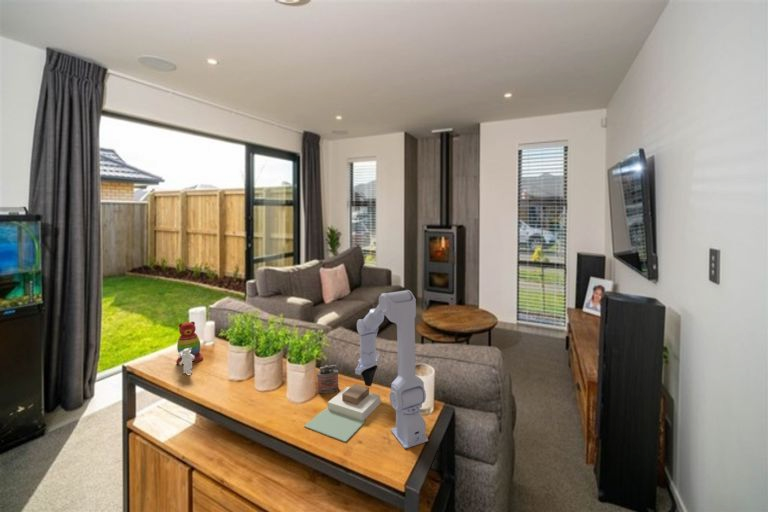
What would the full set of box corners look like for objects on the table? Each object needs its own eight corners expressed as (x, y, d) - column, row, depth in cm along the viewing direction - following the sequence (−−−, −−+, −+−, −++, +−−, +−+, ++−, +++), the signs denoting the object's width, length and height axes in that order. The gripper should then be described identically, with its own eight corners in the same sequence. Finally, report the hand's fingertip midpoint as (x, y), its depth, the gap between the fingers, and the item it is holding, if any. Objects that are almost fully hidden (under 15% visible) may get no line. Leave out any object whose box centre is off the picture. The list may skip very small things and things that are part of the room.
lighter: (318, 394, 128) (317, 369, 127) (317, 390, 131) (316, 365, 130) (339, 391, 130) (338, 366, 129) (338, 387, 133) (337, 362, 132)
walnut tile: (355, 390, 125) (354, 383, 125) (369, 394, 122) (369, 387, 122) (342, 400, 118) (342, 393, 118) (357, 405, 115) (356, 398, 115)
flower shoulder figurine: (198, 374, 145) (196, 347, 144) (189, 378, 142) (186, 350, 140) (185, 369, 149) (183, 343, 148) (176, 373, 146) (174, 346, 144)
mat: (325, 409, 118) (325, 408, 118) (365, 422, 111) (365, 421, 111) (304, 427, 109) (304, 425, 109) (345, 442, 101) (345, 441, 101)
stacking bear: (176, 366, 153) (172, 327, 151) (177, 357, 162) (173, 321, 160) (203, 360, 158) (200, 323, 156) (202, 353, 167) (199, 318, 165)
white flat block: (347, 393, 128) (347, 386, 128) (380, 403, 122) (380, 395, 121) (328, 410, 118) (327, 402, 117) (362, 421, 111) (362, 413, 111)
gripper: (368, 341, 134) (369, 374, 136) (347, 355, 121) (348, 391, 123) (384, 344, 131) (384, 378, 132) (364, 359, 118) (365, 396, 120)
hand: (368, 385), depth 128 cm, fingers closed
